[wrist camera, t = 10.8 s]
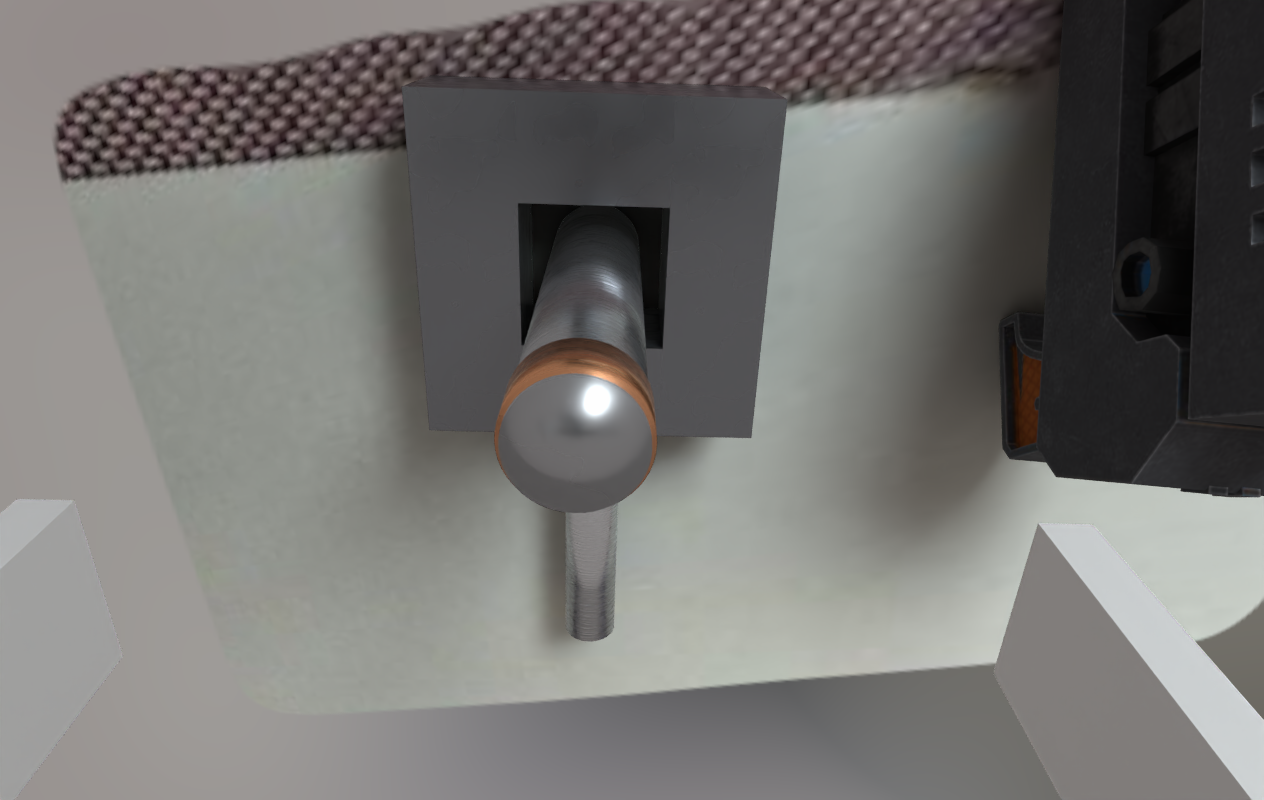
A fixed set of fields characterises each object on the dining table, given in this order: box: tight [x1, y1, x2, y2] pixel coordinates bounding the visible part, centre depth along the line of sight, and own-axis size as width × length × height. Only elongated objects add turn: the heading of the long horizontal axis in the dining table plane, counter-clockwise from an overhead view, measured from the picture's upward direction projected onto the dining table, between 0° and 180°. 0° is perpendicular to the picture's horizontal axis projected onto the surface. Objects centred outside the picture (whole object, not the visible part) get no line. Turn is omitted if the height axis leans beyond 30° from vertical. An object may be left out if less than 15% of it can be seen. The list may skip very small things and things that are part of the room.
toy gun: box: [999, 0, 1264, 497], centre depth 24 cm, size 6×19×15 cm
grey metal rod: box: [494, 205, 657, 513], centre depth 23 cm, size 3×3×15 cm
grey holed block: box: [402, 76, 787, 641], centre depth 30 cm, size 21×11×4 cm, turn 178°
